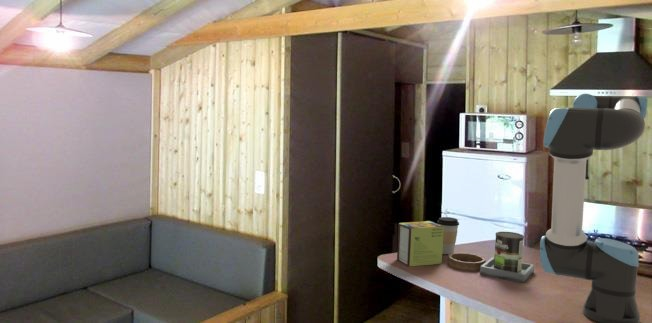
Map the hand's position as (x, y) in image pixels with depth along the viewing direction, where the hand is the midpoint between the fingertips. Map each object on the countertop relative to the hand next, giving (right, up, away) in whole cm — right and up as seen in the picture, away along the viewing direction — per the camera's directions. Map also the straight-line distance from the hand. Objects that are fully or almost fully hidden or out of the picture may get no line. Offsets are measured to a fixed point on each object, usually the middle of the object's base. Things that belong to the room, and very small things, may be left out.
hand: (574, 195), depth 185 cm
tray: (-22, -31, +9) cm, 39 cm away
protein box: (-53, -29, +21) cm, 64 cm away
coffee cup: (-39, -28, +35) cm, 59 cm away
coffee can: (-22, -30, +9) cm, 38 cm away
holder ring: (-35, -29, +18) cm, 49 cm away
